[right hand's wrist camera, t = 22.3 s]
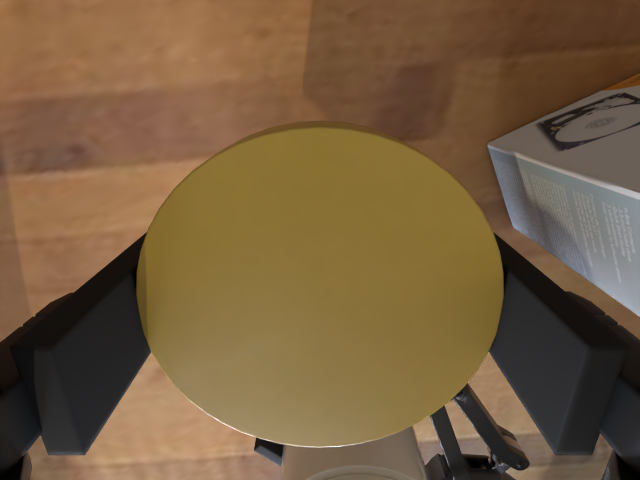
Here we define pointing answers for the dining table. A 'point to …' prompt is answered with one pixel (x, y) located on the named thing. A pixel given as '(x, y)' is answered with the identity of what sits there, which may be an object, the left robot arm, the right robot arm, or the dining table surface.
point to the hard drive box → (581, 186)
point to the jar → (357, 460)
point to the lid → (320, 285)
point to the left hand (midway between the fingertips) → (302, 392)
